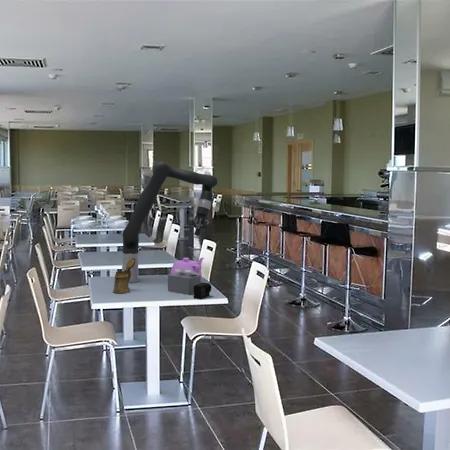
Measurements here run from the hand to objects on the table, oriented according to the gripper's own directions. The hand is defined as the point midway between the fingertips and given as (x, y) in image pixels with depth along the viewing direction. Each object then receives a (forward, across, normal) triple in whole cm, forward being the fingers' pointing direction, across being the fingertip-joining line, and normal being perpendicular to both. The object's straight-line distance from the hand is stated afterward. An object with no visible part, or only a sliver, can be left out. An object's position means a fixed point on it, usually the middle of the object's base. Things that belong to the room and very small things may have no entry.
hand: (196, 235), depth 350 cm
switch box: (+35, +13, -15) cm, 40 cm away
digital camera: (+36, +30, -19) cm, 51 cm away
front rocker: (+26, +16, -17) cm, 35 cm away
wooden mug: (+43, -12, -35) cm, 56 cm away
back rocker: (+26, +9, -17) cm, 32 cm away
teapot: (+29, -2, +4) cm, 29 cm away
